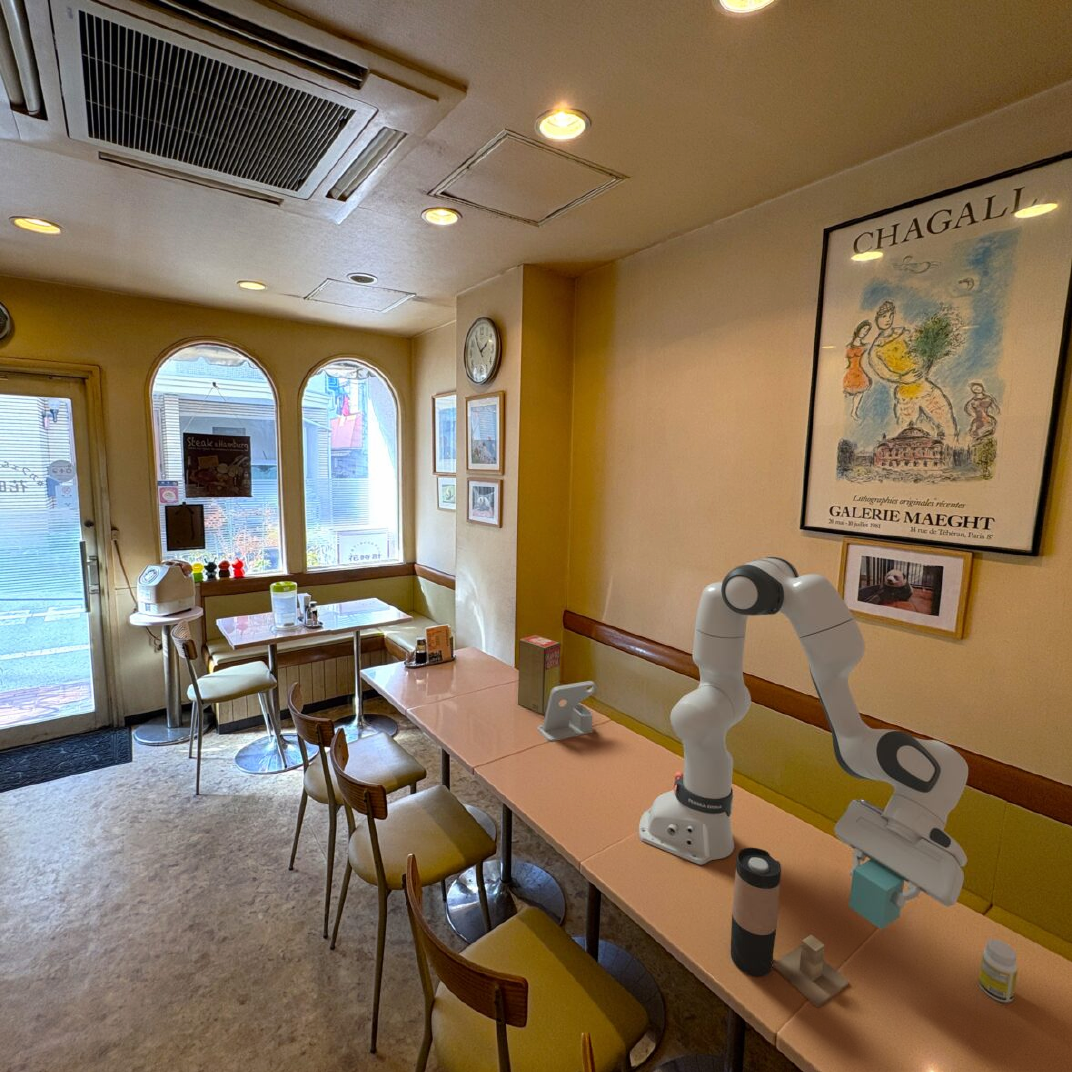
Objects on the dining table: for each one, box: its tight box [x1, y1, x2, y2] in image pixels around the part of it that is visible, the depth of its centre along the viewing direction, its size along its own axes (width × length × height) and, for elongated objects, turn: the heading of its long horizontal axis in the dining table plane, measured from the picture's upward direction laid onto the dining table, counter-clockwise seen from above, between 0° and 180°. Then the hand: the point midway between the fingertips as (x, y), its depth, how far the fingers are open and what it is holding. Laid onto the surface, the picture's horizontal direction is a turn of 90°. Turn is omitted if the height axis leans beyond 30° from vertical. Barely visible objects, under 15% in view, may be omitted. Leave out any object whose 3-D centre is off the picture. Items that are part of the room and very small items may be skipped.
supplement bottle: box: [978, 938, 1018, 1003], centre depth 99 cm, size 5×5×8 cm
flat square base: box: [771, 934, 850, 1008], centre depth 101 cm, size 9×9×6 cm
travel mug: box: [730, 847, 782, 978], centre depth 103 cm, size 8×8×20 cm
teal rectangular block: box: [848, 859, 905, 930], centre depth 102 cm, size 6×6×8 cm
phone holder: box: [537, 680, 597, 742], centre depth 190 cm, size 17×10×18 cm, turn 114°
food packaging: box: [517, 634, 562, 716], centre depth 208 cm, size 13×9×25 cm
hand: (874, 891), depth 101 cm, fingers closed on teal rectangular block, 6 cm apart
